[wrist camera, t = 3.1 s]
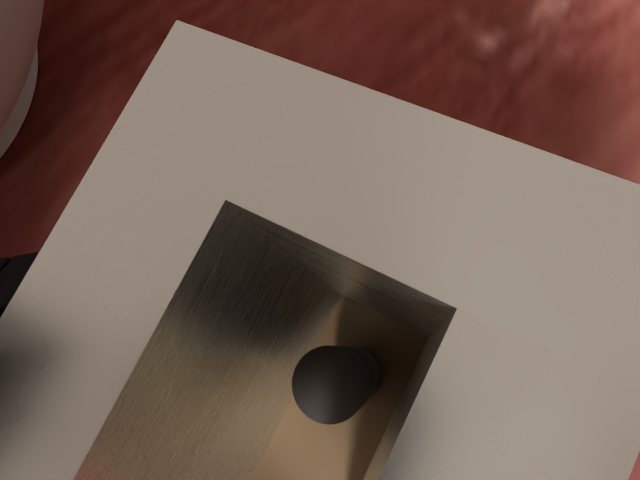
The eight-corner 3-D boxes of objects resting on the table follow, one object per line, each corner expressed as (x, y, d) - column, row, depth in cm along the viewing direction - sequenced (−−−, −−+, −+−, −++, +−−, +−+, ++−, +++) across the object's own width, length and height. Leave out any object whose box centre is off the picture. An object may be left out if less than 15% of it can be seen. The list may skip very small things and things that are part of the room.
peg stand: (440, 700, 13) (462, 975, 7) (120, 471, 17) (-41, 538, 11) (624, 261, 15) (760, 203, 9) (301, 132, 18) (247, 27, 12)
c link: (404, 564, 13) (383, 1107, 4) (204, 435, 15) (-152, 575, 6) (518, 308, 14) (730, 217, 5) (316, 217, 16) (176, 20, 7)
